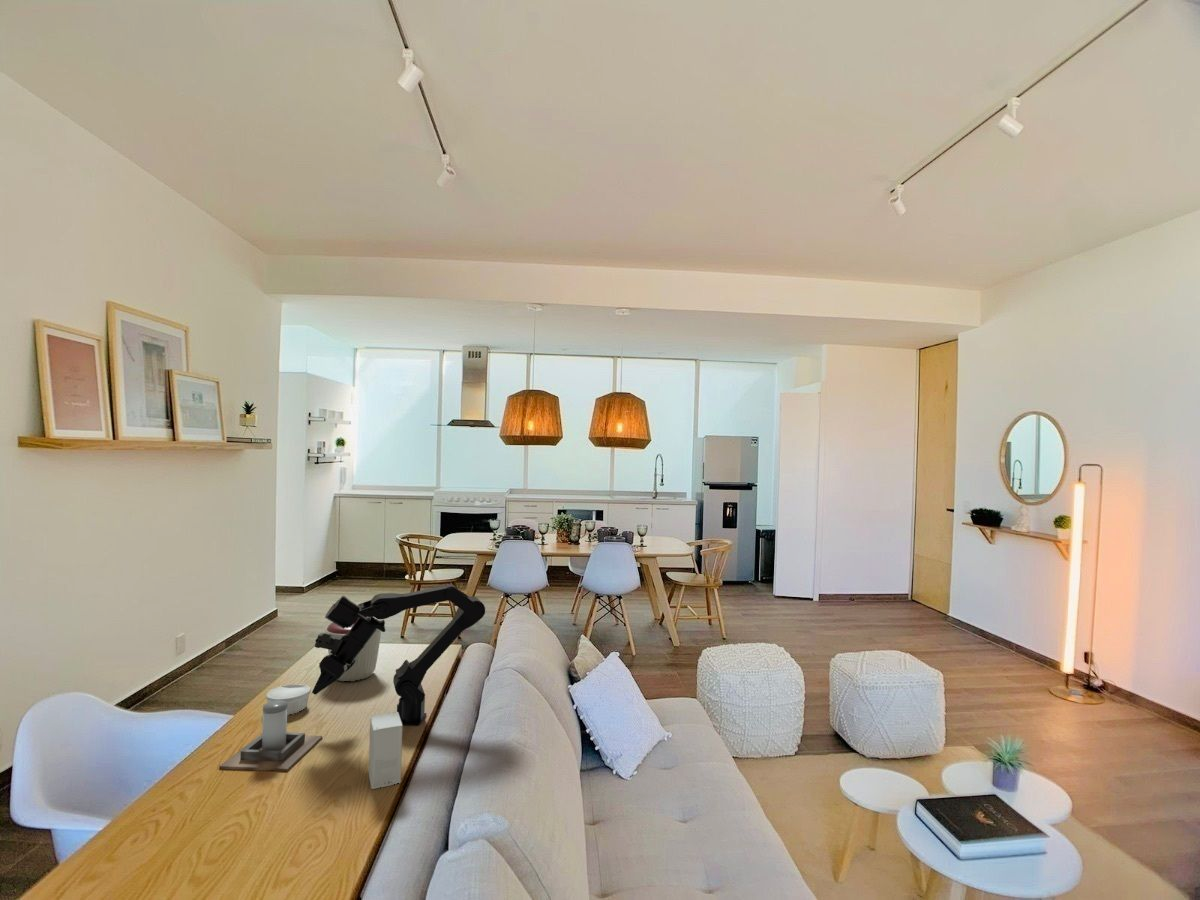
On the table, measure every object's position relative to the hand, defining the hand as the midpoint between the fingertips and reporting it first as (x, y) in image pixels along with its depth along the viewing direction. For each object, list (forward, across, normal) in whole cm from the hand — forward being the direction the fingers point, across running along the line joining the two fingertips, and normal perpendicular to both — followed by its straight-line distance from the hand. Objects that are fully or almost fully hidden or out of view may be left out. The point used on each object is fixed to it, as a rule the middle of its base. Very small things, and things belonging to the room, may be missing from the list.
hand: (318, 689), depth 152 cm
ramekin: (+14, -20, -5) cm, 25 cm away
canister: (+4, -43, +4) cm, 43 cm away
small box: (+1, +22, +26) cm, 33 cm away
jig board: (+15, +6, +1) cm, 16 cm away
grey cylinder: (+15, +6, +1) cm, 16 cm away
